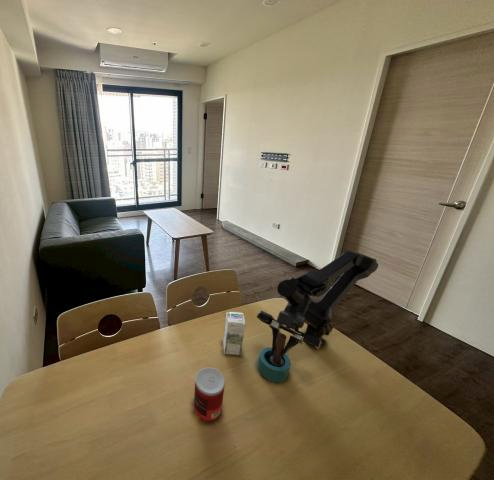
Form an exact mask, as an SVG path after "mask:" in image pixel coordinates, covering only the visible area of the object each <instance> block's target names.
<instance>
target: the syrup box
mask: <svg viewBox="0 0 494 480" xmlns="http://www.w3.org/2000/svg"><path fill="white" fill-rule="evenodd" d="M246 325H247V324H246V321H245V315H244V312H238V311H226V315H225V322H224V332H223V340H222V345H223V353H224V355H230V356H241V355H242V349H243V343H244V337H245V330H246Z"/></svg>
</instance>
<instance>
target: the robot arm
mask: <svg viewBox="0 0 494 480" xmlns="http://www.w3.org/2000/svg"><path fill="white" fill-rule="evenodd" d="M378 268H379V263H378V261H377V259H376V258H374V257H372V256H368V255H366V254H363V253H361V252H358V251H357V252H355V251H353V250H349V249H346V250H344V251H343V252H342V254H341V255H339V256H338V257H336V258H335V259H333V260H332V261H330V262H329V263H328V264H326V265H325V266H323V267H321V268H320V269H312V270H309V271H306V272H305V273H304V274H302V275H299V276H297V277H294V276H291V278H290V279H284V280H282V281H279V283H278V285H277V287H276V289H277V293H278V295H279V296H281V297H282V298H283V299H284V300H285V301H286V302H287V305H286V306H285V308H284V309H283V310H280V311H279V313H278V316H277V318H276V319H275V317H274V316H273V315H272V314H270V313H267V312H265V311H264V310H260V311H259V312H258V313H257V315H256V318H257V319H258V320H259V322H262V323H264V324H266V325H268V327H269V328H270V329H271V333H272V342H271V347H272V352H273V353H274V351H275V346H276V342H277V337H278V334H279V333H282V332H281V331H280V330H282V331H285V332H287V333H289V334H291V335H290V336H289V339H288V340H287V342H286V343H285V346H284V349H283V351H282V354H281V357H283V356H284V355H285V354H286V355H287V354H288V353H289V351H290V350H292V348H294V347H295V346H296V345H298V344H300V345H303V341H304V342H305V343H307V345H308V346H311V347H313V348H314V349H316V350H320V348H321V346H322V345H324V344H326V339H324V336H330V334H331V332H332V331H333V330H334V326H333V325H332V324H331V322H332V320H333V311H334V309H335V308H336V307H337V306H338V305H339V304H340V302H342V300H343V299H344V298H345V297H346V296H347V294H348V293H349V292H350V291H351V289H352V288H354V286H355V285H356V284H357V282H358V281H361V280H364V279H367V278H369V277H370V276H371V275H372V274H373V273H375V272H376V271H377V270H378ZM337 278H338V279H337ZM336 279H337V280H336ZM333 281H335V282H334V283H333V285H332V286H331V287H330V285H331V283H332V282H333ZM321 296H322V298H321V299H320V300H319V301H314V300H313V298H312V297H314V298H315V297H318V298H319V297H321ZM305 324H306V328H305V332H303V331H300V329H302V328H303V327H304V325H305Z"/></svg>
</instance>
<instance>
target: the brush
mask: <svg viewBox="0 0 494 480" xmlns="http://www.w3.org/2000/svg"><path fill="white" fill-rule="evenodd" d="M286 340H287V335H286V334H284V333H282V332H281V333H279V334H278V337H277V342H276V346H275V351H274V356H271V358H270V362H269V364H270V365H272V366H275V367H282V366H283V363H284V362H283V360H282V357H281V354H282V351H283V349H284V348H285V346H286Z"/></svg>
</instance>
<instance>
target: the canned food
mask: <svg viewBox="0 0 494 480" xmlns="http://www.w3.org/2000/svg"><path fill="white" fill-rule="evenodd" d="M225 383H226V382H225V377H224V375H223V373H222V372H220V370H218V369H216V368H214V367H204V368H202V369H200V370H198V371H197V373H196V375H195V380H194V393H193V394H194V395H193V409H194V412H195V415H196V416H197V417H198V418H199V419H200V420H201V421H204V422H213V421H215V420H217V419H218V418H219V416H220V415H221V412H222V409H223V400H224V394H225V386H226V385H225Z"/></svg>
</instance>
